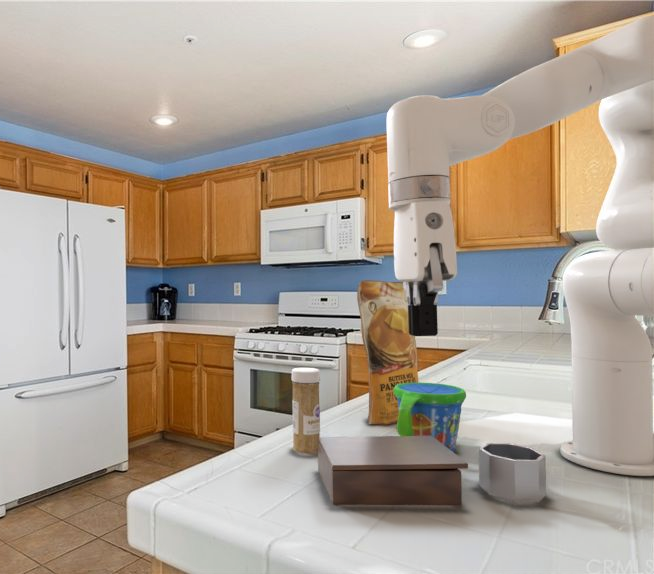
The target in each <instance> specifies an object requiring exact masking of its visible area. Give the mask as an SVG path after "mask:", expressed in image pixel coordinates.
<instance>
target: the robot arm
mask: <svg viewBox="0 0 654 574" xmlns="http://www.w3.org/2000/svg"><path fill="white" fill-rule="evenodd" d="M599 102H600V103H599ZM597 103H599V107H598V121H599V124H600V127H601V129H602V131H603V132H604V135H605V136H606V138H607V141H609V143H610V146H611V148H612V151H613V153H614V155H615V161H616V162H615V163H616V165H615V169H614V171H613V175H612V178H611V181H610V184H609V187H608V189H607V192H606V194H605V197H604V199H603V202H602V205H601V208H600V210H599V214H598V217H597V220H596V224H595V233H596V237H597V239H598V241H599V242H600V243H601V244H603V246H606V247H608V248H611V249H612V250H602V251H594V252H590V253H585V254H582V255H580V256H579V257H576V258H574V259H573V260H571V261H570V263H568V265H567V266H566V267H565V269H564V272H563V275H562V279H561V280H562V282H561V283H562V293H563V297H564V300H565V304H566V307H567V312H568V319H569V325H570V326H569V327H570V344H571V345H570V346H571V351H570V352H571V417H572V418H571V420H572V421H571V422H572V424H571V425H572V427H571V429H572V430H571V431H572V441H568V442H563V443H562V444H561V445H560V455H561V456H562V457H564V458H565V459H566V460H568V461H570V462H572V463H574V464H577V465H579V466H582V467H585V468H589V469H593V470H596V471H601V472H606V473H609V474H610V473H611V474H616V475H617V474H618V475H623V476H635V477H654V402H653V401H654V397H653V389H654V388H653V347H652V343H651V340H650V337H649V335H648V334H647V332H646V330H645V329H644V327H643V326H642V324H641V323H640V321H639V320H638V319H637V318H636V316H640V317H641V316H642V317H654V15H648V16H644V17H641V18H637V19H636V20H634V21H632V22H629V23H628V24H626V25H623V26H621V27H619V28H617V29H615V30H613V31H611V32H609V33H607V34H605V35H603V36H601V37H599V38H597V39H595V40H592V41H590V42H588V43H586V44H584V45H582V46H579V47H577V48H575V49H572V50H571V51H568V52H565V53H564V54H561V55H559V56H557V57H554V58H552V59H550V60H547V61H545V62H543V63H541V64H538V65H536V66H533V67H531V68H529V69H527V70H525V71H523V72H520V73H519V74H517V75H515V76H513V77H511V78H509V79H507V80H506V81H504V82H502V83H500V84H499V85H497V86H496V87H494V88H491V89H490V90H489V91H487V92H485V93H483V94H481V95H470V96H463V97H453V98H451V97H450V98H441V97H439V96H436V95H427V94H426V95H416V96H410V97H406V98H404V99H401V100H398V101H397V102H395V103H394V104H393V105H391V107H390V108H389V109H388V111H387V113H386V123H385V124H386V148H387V149H386V151H387V152H386V153H387V185H388V187H387V188H388V209H389V210H390V211H392V212H393V211H394V219H393V221H394V222H393V223H394V224H393V269H394V276H395V279H397V281H398V282H403V287H404V290H406V295H407V303H408V327H409V334H410V335H413V336H415V337H435V336H438V334H439V333H438V332H439V328H438V304H439V292H440V291H442V290H443V289H444V281H452V280H454V279H456V277H457V275H458V261H457V260H458V259H457V247H456V235H455V227H454V219H453V214H452V213H453V212H452V208H451V203H452V202H451V176H450V175H451V174H450V172H451V171H450V167H452V166H455V165H457V164H460V163H463V162H466V161H471V160H473V159H477V158H479V157H482V156H485V155H488V154H490V153H492V152H494V151H496V150H498V149H500V148H501V147H502V146H503V145H505V144H506V143H507V142H508V141H509V140H514V139H516V138H519V137H524V136H526V135H529V134H532V133H534V132H536V131H537V132H538V131H539V130H542V129H544V128H546V127H549V126H552V125H553V124H556V123H558V122H559V121H561V120H564V119H566V118H567V117H570V116H572V115H573V114H576V113H578V112H580V111H582V110H585V109H587V108H589V107H590V106H593V105H595V104H597Z"/></svg>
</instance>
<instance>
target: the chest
mask: <svg viewBox="0 0 654 574" xmlns="http://www.w3.org/2000/svg"><path fill="white" fill-rule="evenodd" d="M317 471H318V473H319V476H320V478H321V480H322V483H323V485H324V488H325V490H326V492H327V494H328V496H329V499H330V502H331V504H332V505H333V506H453V507H454V506H458V507H459V506H460V507H461V506H462V505H463V496H462V491H463V490H462V484H463V483H462V470H460V468H456V469H386V470H332V468H331V466H330V464H329V462H328V460H327V458H326V456H325V454H324V452H323V450H322V448H321V446H320V444H319V442H318V452H317Z"/></svg>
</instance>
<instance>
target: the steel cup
mask: <svg viewBox="0 0 654 574" xmlns="http://www.w3.org/2000/svg"><path fill="white" fill-rule="evenodd" d="M546 457H547V455H546V454H545V453H542V452H540V451H538V450H537V449H535V448H533V447H529V446H523V445H519V444H515V443H510V442H486V443H485V444H483V445H481V446H480V447H478V485H479V487H480V488H481V489H482V490H483V491H485V492H486V493H487V494H488V495H490V496H493V497H496V498H499V499H503V500H506V501H510V502H514V503H540V502H541V501H542V500H543V499H544V498H545V497H546V496H547V458H546Z"/></svg>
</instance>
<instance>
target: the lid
mask: <svg viewBox="0 0 654 574" xmlns="http://www.w3.org/2000/svg"><path fill="white" fill-rule="evenodd" d="M318 442H319V444H320V446H321V448H322V450H323V452H324V454H325V456H326V458H327V460H328V462H329V464H330V466H331V468H332V470H386V469H456V468H458V469H469V463H468V462H466V460H464V459H463V458H462V457H461V456H459V455H457V454H456V453H455V451H454V452H452V451H451V450H450V449H448V448H447V447H446V446H444V445H443V444H442V443H441V442H439V441H438V440H437V439H435V438H434V437H433V436H400V435H389V436H388V435H385V436H383V435H382V436H381V435H377V436H375V435H374V436H373V435H372V436H329V437H328V436H324V437H321V436H320V437H318Z"/></svg>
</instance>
